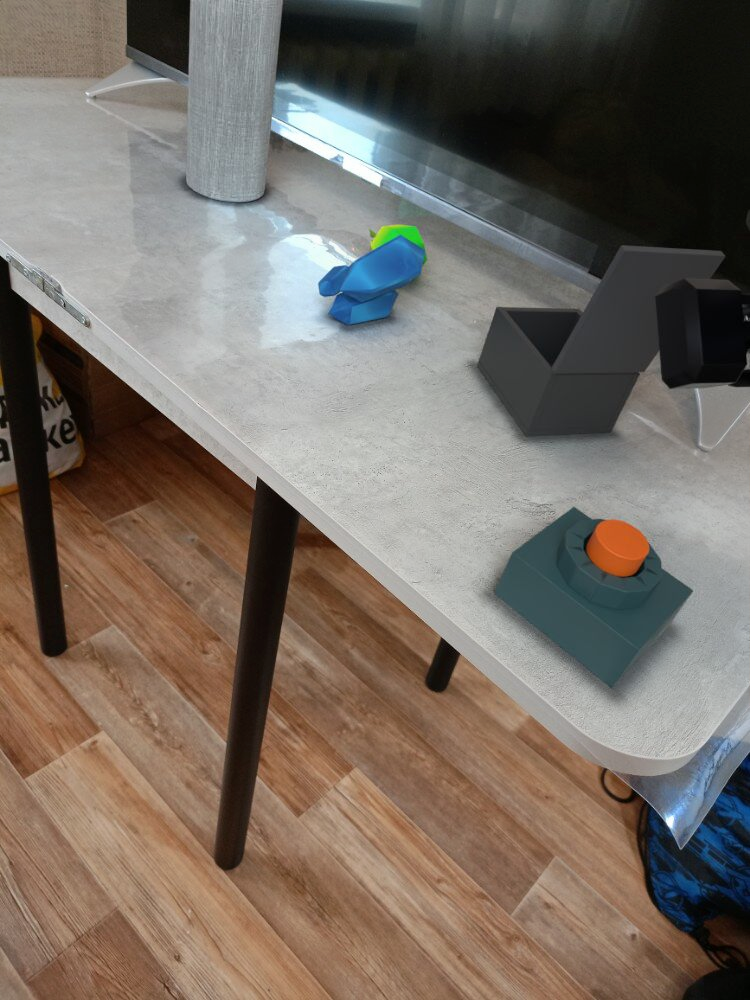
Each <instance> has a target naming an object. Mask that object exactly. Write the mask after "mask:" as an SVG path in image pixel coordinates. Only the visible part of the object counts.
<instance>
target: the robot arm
mask: <svg viewBox="0 0 750 1000" xmlns="http://www.w3.org/2000/svg"><path fill="white" fill-rule="evenodd" d="M745 224H746V226H747V228H748V230H749V231H750V209H748V212H747V215H746V219H745ZM655 303H656V315H657V328H658V340H659V352H658V353H659V362H660V375H661V381H662V382H663V384H665V386H666V387H667V388H668V389H669V390H685V389H686V390H687V389H689V390H690V389H708V388H717V387H723V386H728V387H730V388H750V293H742V289H740V288H739V287H738V286H736V285H735V284H734V283H733V282H731V281H730V280H728V279H715V278H714V279H713V278H710V279H693V278H683V279H680V280H678V281H676V282H673V283H671V284H669V285H666V286H664V287H662V288H661V289H660V290H659V292H658V293H657V294H656V296H655Z"/></svg>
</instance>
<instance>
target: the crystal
mask: <svg viewBox="0 0 750 1000" xmlns="http://www.w3.org/2000/svg"><path fill="white" fill-rule="evenodd" d="M425 252H426V249H425V250H424V249H423V248H421V247H420V246H418V245H416V244H415V243H413V242H412V241H410V240H408V239H407V238H405V237H404V236H402V235H399V236H397V237H395V238H394V239H392V240H390V241H388V242H387V243H385V244H383V245H381V246H380V247H378V248H376V249H374V250H373V251H372V250H371V251H369V252H367V253H365V254H364V255H362V256H360V257H359V258H357V259H355V260H354V261H353V262H352V263H351V264H350V265H349V266H348V265H347V264H343V265H335V266H333V267H332V268H331V269H330V270H329V271H328V272H327V273H326V274H325V275H324V276H323V277H322V278H321V279H320V280H319V281H318V282H317V285H318V292H319V293H318V294H319V295H320V296H322V297H323V298H328V297H329V298H330V297H335V298H334V300H333V301H332V302H333V303H332V305H331V307H330V310H329V311H328V315H329V316H331V317H333V318H334V319H336V320H338V321H340V322H341V323H342V324H344V325H346V326H350V325H352V326H353V325H356V324H360V323H366V322H370V321H374V320H380V319H385V318H387V317H389V316H390V315H391V312H392V310H393V307H394V305H395V303H396V300H397V299H398V296H399V294H400V293H399V292H398V291H397V289H400V288H403V287H405V286H407V285H408V284H409V283H411V282H412V281H414V280H415V279H416V278H417V277H419V276H420V275H421V274H422V270H423V267H422V265H423V260H424V255H425ZM423 266H424V265H423Z"/></svg>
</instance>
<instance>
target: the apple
mask: <svg viewBox="0 0 750 1000" xmlns="http://www.w3.org/2000/svg"><path fill="white" fill-rule="evenodd" d="M368 229H369V230H368V231H369V236H370V238H373V239H372V240H371V243H370V249H371V251H373V250H374V249H376V248H378V247H380V246H381V245H383V244H385V243H387V242H388V241H390V240H392V239H394V238H395V237H397V236H399V235H402V236H404V237H405V238H407V239H408V240H410V241H412V242H413V243H415V244H416V245H418V246H420V247H421V248H423V249H424V250H425V255H424V260H423V265H422V268H423V267H424V265H425V264H426V263H427V261H428V258H427V253H426V247H425V243H424V241H423V239H422V236H421V235H420V234H421V233H420V232H419V229H418V228H417V226H416V225H415V226H414V225H407V224H398V223H397V224H390V225H382V226H381V227H380V229H379V230H378V232H377V233H376V232H375V231H374V230H373V229H372V228H370V227H368Z"/></svg>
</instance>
